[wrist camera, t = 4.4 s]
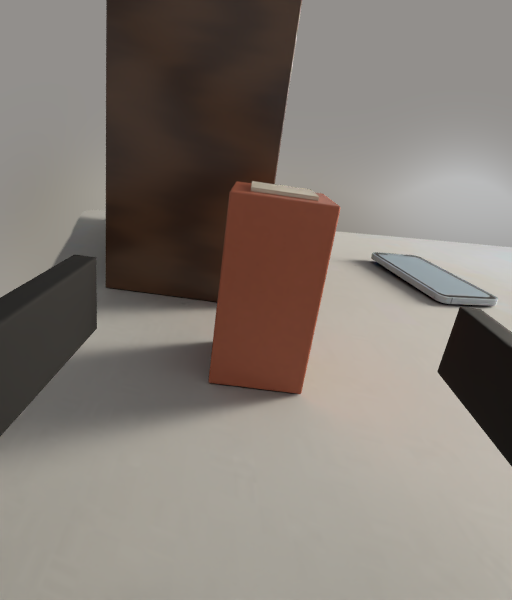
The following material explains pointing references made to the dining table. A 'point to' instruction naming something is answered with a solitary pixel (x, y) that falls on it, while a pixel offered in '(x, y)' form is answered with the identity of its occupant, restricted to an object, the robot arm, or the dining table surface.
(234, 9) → the stand
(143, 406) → the dining table surface
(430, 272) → the smartphone
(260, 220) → the orange block
